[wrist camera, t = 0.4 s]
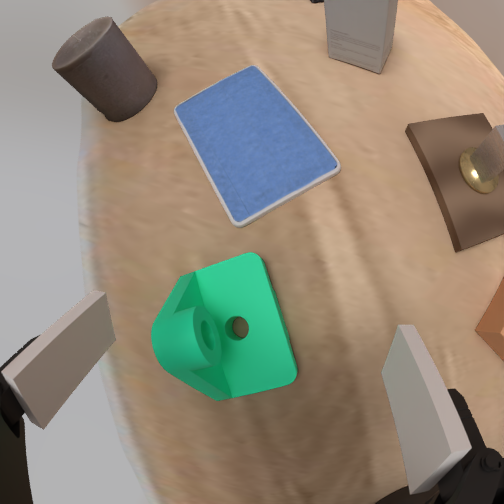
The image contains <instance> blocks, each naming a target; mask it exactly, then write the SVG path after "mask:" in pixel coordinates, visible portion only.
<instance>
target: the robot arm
mask: <svg viewBox="0 0 504 504" xmlns="http://www.w3.org/2000/svg"><path fill="white" fill-rule="evenodd" d="M115 340H116V338H115V333H114V329H113V325H112V320H111V316H110V311H109V306H108V301H107V296H106V292H101V291H96V290H93V291H92V292H91V293H90V294H88V295H87V296H86V297H85V298H83V299H82V300H81V301H80V302H79V303H77V304H76V305H75V306H74V307H73V308H71V309H70V310H69V311H68V312H67V313H65V314H64V315H63V316H62V317H61V318H60V319H58V320H57V321H56V322H55V323H54V324H53V325H51V326H50V327H49V328H48V329H47V330H46V331H45V332H44V333H42V334H41V335H39V336H37V337H35V338H33V339H31V340H30V341H28V342H27V343H26V344H25V345H24V346H23V348H21V349H20V350H18V351H17V353H15V354H14V355H13V356H12V357H11V358H10V359H9V360H8V361H7V362H6V363H4V364H3V365H2V366H1V367H0V504H33V500H32V494H31V489H30V482H29V475H28V467H27V457H26V446H25V426H24V424H25V423H24V419H23V418H22V415H23V414H24V413H26V415H27V416H28V418H29V419H30V421H31V422H32V423H34V424H35V425H37V426H38V427H40V428H42V429H44V428H45V427H46V426H47V424H48V423H49V422H50V421H51V419H52V418H53V417H54V415H55V414H56V413H57V412H58V410H59V409H60V408H61V406H62V405H63V404H64V403H65V401H66V400H67V399H68V397H69V396H70V395H71V394H72V392H73V391H74V390H75V389H76V387H77V386H78V385H79V384H80V382H81V381H82V380H83V379H84V377H85V376H86V375H87V374H88V372H89V371H90V370H91V369H92V368H93V366H94V365H95V364H96V363H97V362H98V360H99V359H100V358H101V357H102V356H103V354H104V353H105V352H106V351H107V350H108V348H109V347H110V346H111V345H112V344H113V343H114V341H115ZM381 374H382V377H383V381H384V384H385V388H386V391H387V395H388V399H389V402H390V406H391V410H392V414H393V418H394V421H395V425H396V430H397V434H398V438H399V442H400V447H401V451H402V456H403V460H404V465H405V470H406V475H407V480H408V487H405V488H403V489H401V490H399V491H396V492H394V493H393V494H391V495H389V496H387V497H385V498H384V499H382V500H380V501H379V502H377V503H376V504H504V458H502V456H501V455H500V453H499V452H497V451H496V450H494V449H491V448H486V446H485V444H484V441H483V439H482V436H481V434H480V432H479V429H478V427H477V425H476V423H475V420H474V418H473V417H472V414H471V412H470V410H469V409H468V405H467V403H466V401H465V399H464V397H463V396H462V395H461V394H460V393H459V392H458V391H457V390H456V389H447V388H446V386H445V384H444V382H443V380H442V378H441V376H440V374H439V372H438V370H437V368H436V366H435V364H434V362H433V360H432V358H431V356H430V354H429V352H428V350H427V348H426V347H425V345H424V343H423V341H422V339H421V337H420V335H419V334H418V332H417V330H416V328H415V326H414V325H398V327H397V330H396V333H395V336H394V339H393V342H392V345H391V348H390V350H389V353H388V356H387V358H386V361H385V364H384V366H383V369H382V371H381Z"/></svg>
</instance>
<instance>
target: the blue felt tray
mask: <svg viewBox="0 0 504 504" xmlns="http://www.w3.org/2000/svg"><path fill="white" fill-rule="evenodd" d="M174 114H175V116H176V118H177V120H178V122H179V124H180V126H181V128H182V130H183V132H184V134H185V136H186V137H187V139H188V141H189V143H190V145H191V147H192V149H193V151H194V153H195V155H196V157H197V158H198V160H199V162H200V164H201V166H202V168H203V170H204V172H205V174H206V176H207V178H208V180H209V181H210V183H211V185H212V187H213V189H214V191H215V193H216V194H217V196H218V198H219V200H220V202H221V204H222V206H223V208H224V210H225V211H226V213H227V215H228V217H229V219H230V221H231V223H232V224H233V225H234V226H235V227H238V228H241V227H244V226H246V225H248V224H250V223H252V222H254V221H255V220H257V219H259V218H261V217H262V216H264V215H266V214H268V213H269V212H271V211H273V210H275V209H276V208H278V207H280V206H282V205H284V204H285V203H287V202H289V201H291V200H293V199H294V198H296V197H298V196H300V195H301V194H303V193H305V192H307V191H308V190H310V189H312V188H314V187H316V186H317V185H319V184H321V183H323V182H324V181H326V180H328V179H330V178H331V177H333V176H335V175H337V174H338V173H339V172H340V170H341V164H340V162H339V160H338V159H337V158H336V156H335V155H334V154H333V152H332V151H331V150H330V148H329V147H328V146H327V145H326V143H325V142H324V141H323V139H322V138H321V137H320V136H319V134H318V133H317V132H316V131H315V129H314V128H313V127H312V126H311V125H310V123H309V122H308V121H307V120H306V118H305V117H304V116H303V115H302V114H301V113H300V111H299V110H298V109H297V108H296V107H295V106H294V104H293V103H292V102H291V101H290V100H289V99H288V98H287V97H286V95H285V94H284V93H283V92H282V91H281V90H280V88H279V87H278V86H277V85H276V84H275V83H274V82H273V81H272V80H271V79H270V78H269V77H268V76H267V75H266V74H265V73H264V72H263V71H262V70H261V69H260V68H259V67H258V66H256V65H251V66H248V67H246V68H244V69H242V70H240V71H238V72H236V73H234V74H232V75H230V76H228V77H226V78H224V79H222V80H220V81H218V82H217V83H215V84H213V85H211V86H209V87H207V88H206V89H204V90H202V91H200V92H199V93H197V94H195V95H193V96H192V97H190V98H188V99H187V100H185V101H183V102H182V103H180V104H178V105H177V106H176V107H175V108H174Z"/></svg>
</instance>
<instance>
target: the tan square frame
mask: <svg viewBox="0 0 504 504" xmlns="http://www.w3.org/2000/svg"><path fill="white" fill-rule="evenodd" d="M475 331H476V332H477V333H478V334H479V335H480V336H481V337H482V338H483V339H484V340H485V341H486V342H487V344H488V345H489V346H490V347H491V348H492V349H493V350H494V351H495V352H496V353H497V354H498V355H499V357H500V358H501V359H502V360H503V361H504V278H503V280H502V282H501V284H500V286H499V288H498V290H497V292H496V294H495V296H494V298H493V300H492V301H491V303H490V305H489V307H488V309H487V311H486V312H485V314H484V316H483V317H482V319H481V321H480V323H479V324H478V326H477V328H476V329H475Z"/></svg>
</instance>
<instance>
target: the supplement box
mask: <svg viewBox="0 0 504 504" xmlns="http://www.w3.org/2000/svg"><path fill="white" fill-rule="evenodd" d="M397 3H398V0H324V6H325V17H326V29H327V42H328V54H329V57H330V58H333V59H337V60H340V61H343V62H347V63H350V64H353V65H356V66H359V67H362V68H365V69H367V70H370V71H373V72H376V73H378V74H380V72H381V70H382V68H383V66H384V64H385V61H386V59H387V57H388V55H389V53H390V50H391V48H392V43H393V36H394V28H395V20H396V12H397Z"/></svg>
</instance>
